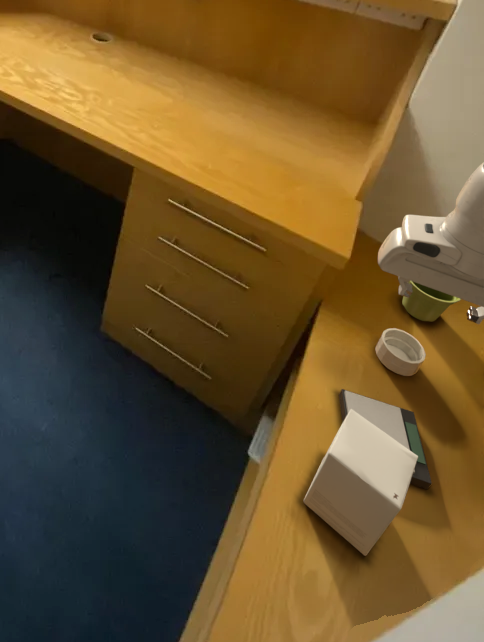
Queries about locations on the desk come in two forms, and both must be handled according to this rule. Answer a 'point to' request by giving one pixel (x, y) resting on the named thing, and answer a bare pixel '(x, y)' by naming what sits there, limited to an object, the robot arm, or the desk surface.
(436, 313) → the plant pot
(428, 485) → the scale
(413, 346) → the bowl
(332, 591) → the desk surface
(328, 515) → the rectangular carton
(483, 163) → the robot arm
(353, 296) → the desk surface
